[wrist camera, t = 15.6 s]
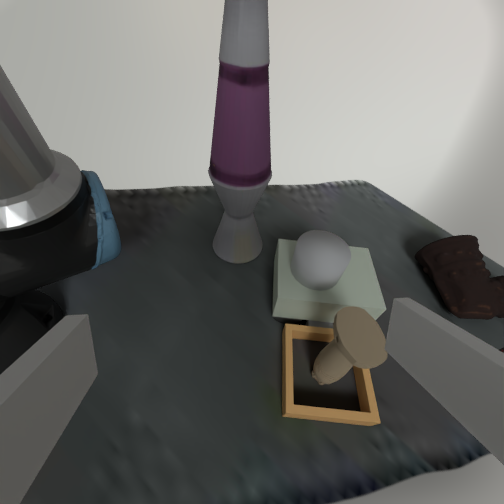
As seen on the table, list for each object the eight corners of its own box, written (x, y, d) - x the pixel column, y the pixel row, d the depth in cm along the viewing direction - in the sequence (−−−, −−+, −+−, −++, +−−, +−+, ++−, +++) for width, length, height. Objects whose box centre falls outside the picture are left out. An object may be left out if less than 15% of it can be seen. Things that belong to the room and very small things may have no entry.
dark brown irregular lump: (567, 307, 40) (509, 230, 47) (479, 316, 39) (434, 236, 46) (510, 323, 48) (469, 255, 55) (437, 330, 47) (404, 260, 54)
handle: (312, 400, 35) (351, 368, 24) (300, 354, 39) (329, 308, 28) (344, 396, 36) (397, 362, 25) (329, 351, 40) (368, 304, 29)
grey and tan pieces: (267, 414, 34) (283, 393, 24) (272, 266, 50) (283, 217, 41) (385, 427, 34) (449, 411, 24) (351, 274, 50) (381, 228, 41)
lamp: (267, 233, 56) (311, -36, 26) (255, 269, 50) (295, -39, 19) (222, 222, 58) (214, -46, 27) (204, 256, 51) (167, -52, 21)
